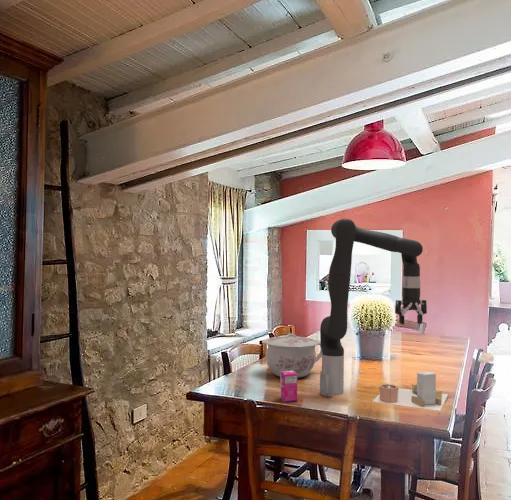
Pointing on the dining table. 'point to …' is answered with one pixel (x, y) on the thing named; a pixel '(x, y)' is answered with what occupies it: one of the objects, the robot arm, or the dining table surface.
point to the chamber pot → (291, 354)
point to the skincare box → (426, 387)
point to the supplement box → (288, 386)
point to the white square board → (416, 399)
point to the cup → (388, 393)
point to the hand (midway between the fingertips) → (410, 324)
